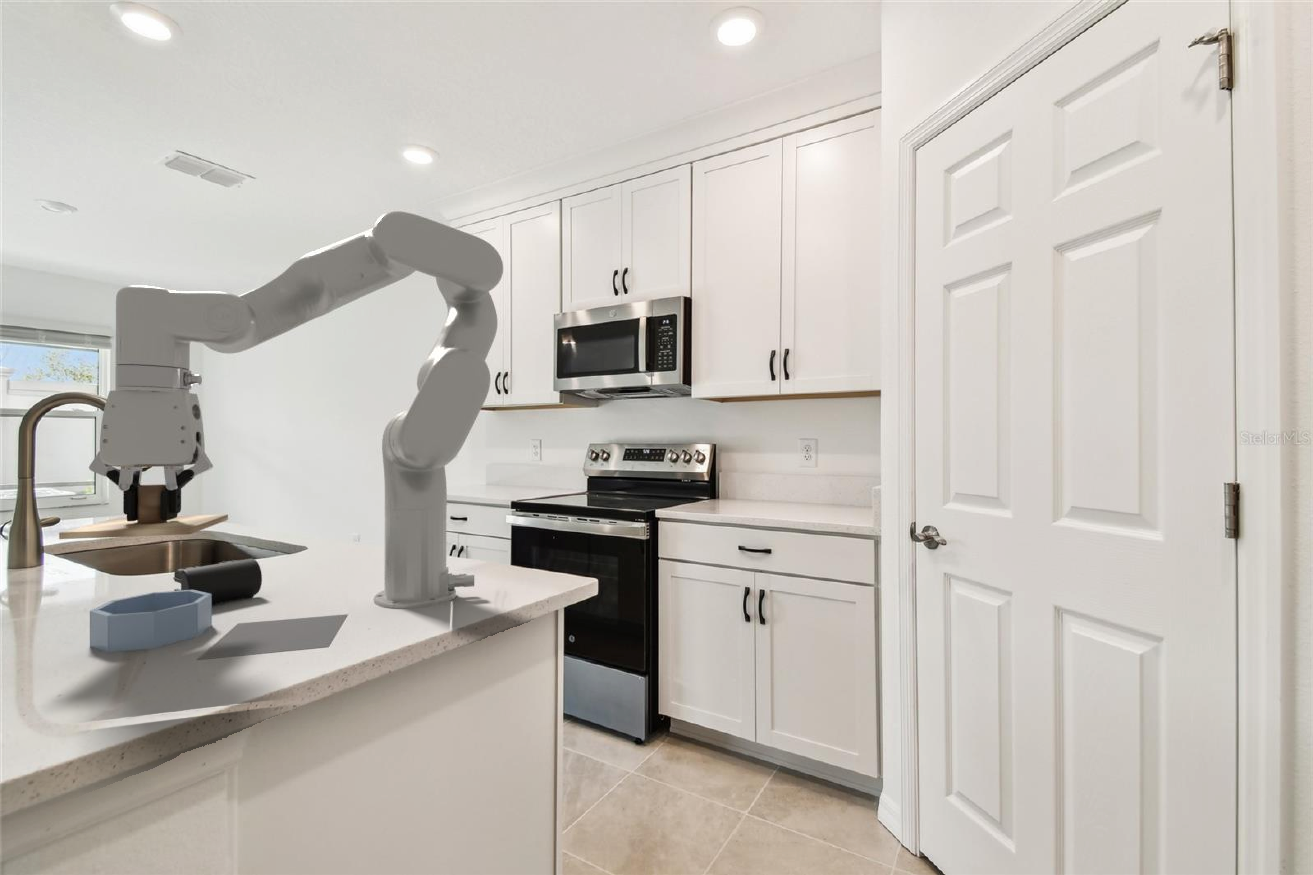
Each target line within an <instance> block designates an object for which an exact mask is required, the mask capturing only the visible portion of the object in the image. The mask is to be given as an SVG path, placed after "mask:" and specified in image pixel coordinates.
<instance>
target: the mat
mask: <svg viewBox="0 0 1313 875" xmlns="http://www.w3.org/2000/svg"><path fill="white" fill-rule="evenodd" d="M348 616H349V615H348V614H336V615H324V616H323V615H322V616H313V617H311V616H310V617H302V618H301V617H298V618H289V619H286V618H285V619H275V620H264V621H253V622H250V621H249V622H239V623H237V624H236V625H234V627H232V628H231V629H230V630H229V631H228V632H227V633H225V635H223V636H222V637H220V639H219V640H218V641H216V643H214V644H213V645H212V646H211V647H209V649H207V650H206V651H205V652H204V653H203V654H202V655H201V656H199V657H198V658H196V661H202V660H210V659H211V660H213V659H223V658H231V657H244V656H251V655H252V656H253V655H262V654H273V653H281V652H292V651H302V650H303V651H305V650H313V649H324V648H325V649H326V648H329V647H330V645H331V644H332V642H333V641H334V639H335V637H336V636H337V634H338V632H339V630H340V628H341V627H342V625H343V624H344V622H345V620H346V619H347V617H348Z"/></svg>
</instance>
